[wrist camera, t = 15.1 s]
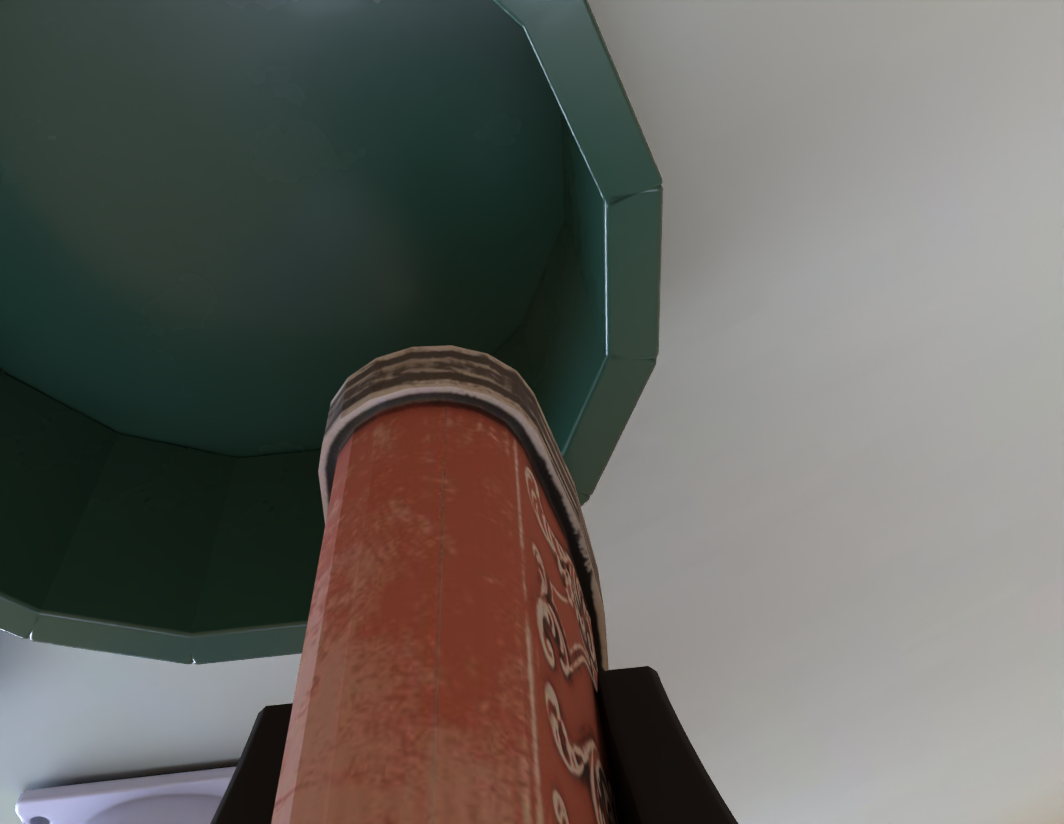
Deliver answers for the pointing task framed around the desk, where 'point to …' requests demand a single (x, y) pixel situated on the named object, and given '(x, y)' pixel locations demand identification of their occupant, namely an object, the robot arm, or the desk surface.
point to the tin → (284, 280)
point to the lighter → (448, 611)
